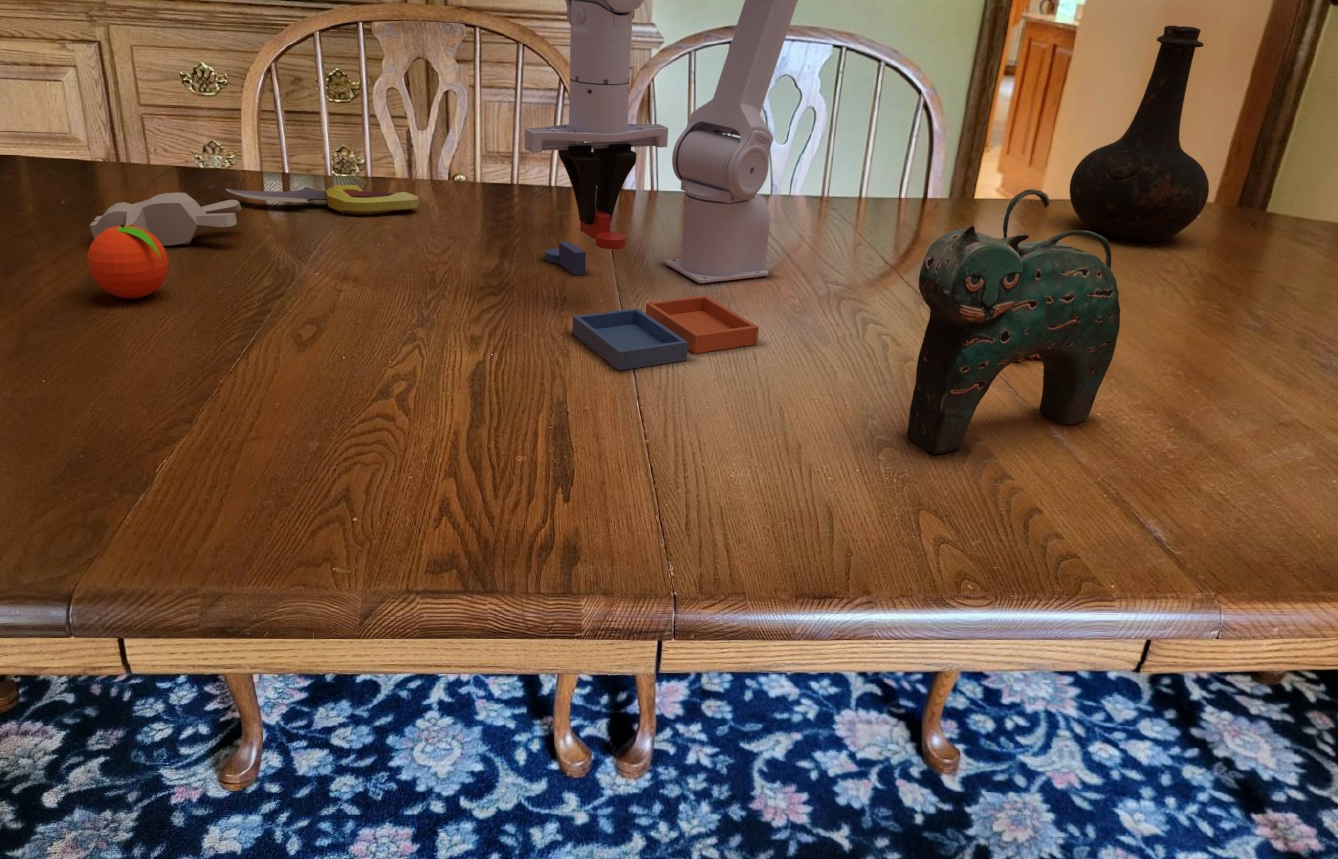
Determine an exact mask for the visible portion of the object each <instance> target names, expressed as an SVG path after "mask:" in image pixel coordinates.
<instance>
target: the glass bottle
mask: <svg viewBox="0 0 1338 859" xmlns="http://www.w3.org/2000/svg"><path fill="white" fill-rule="evenodd" d="M1201 31H1202V30H1201V29H1200V28H1198V27H1194V26H1185V25H1184V26H1183V25H1182V26H1179V25H1165V26H1164V28H1163V34H1162V35H1160V36H1158V37H1157V38H1156V41H1157V42H1158V43H1160V46H1159V48H1158V52H1157V55H1156V59H1155V62H1154V66H1153V69H1152V72H1151V74H1150V77H1149V81H1148V83H1147V86H1146V88H1145V91H1144V94H1143V97H1142V99H1141V101H1140V103H1139V106H1138V108H1137V111H1136V113H1135V114H1134V117H1133V119H1132V121H1131V122H1130V124H1129V126H1128V128H1127V129H1126V130H1125V132H1124V133H1123V135H1122V136H1120V138H1119V139H1117V140H1116V141H1114V142H1111V143H1109V144H1106V145H1103V146H1100V147H1098V148H1096V149H1094V150H1093V151H1090V153H1089V152H1088V154H1087V155H1085V156H1084V157H1083V158H1082V159H1081V160H1080V162H1079V163H1078V164H1077V165H1076V167H1075V169H1074V171H1073V173H1072V175H1071V177H1070V181H1069V199H1070V203H1071V206H1072V208H1073V210H1074V213H1075V214H1076V215H1077V217H1078V219H1079V220H1080V221H1081V222H1082V223H1084V225H1085V226H1087V227H1088V228H1089V229H1091V230H1094V232H1098V233H1100V234H1103V235H1106V236H1109V237H1113V238H1117V239H1122V240H1128V241H1135V242H1145V243H1150V242H1151V243H1152V242H1154V243H1155V242H1160V241H1164V240H1167V239H1169V238H1171V237H1174V236H1176V235H1177V234H1179V233H1181V232H1182V231H1184V230H1185V229H1186V228H1187V227H1188V226H1190V225H1191V224H1192V223H1193V222H1194V221H1195V220H1196V219H1197V218H1198V217H1199V215H1200V214H1201V213H1202V211H1203V210H1204V208H1205V206H1206V205H1207V201H1208V198H1209V193H1210V183H1209V179H1208V175H1207V172H1206V171H1205V170H1204V168H1203V166H1202V165H1201V164H1200V163H1199V161H1197V160H1196V159H1195V158H1194V157H1192V156H1191V155H1189V154H1188V153H1187V152H1185V151H1184V150H1183V148H1182V146H1181V142H1180V132H1181V131H1180V130H1181V120H1182V113H1183V108H1184V104H1185V96H1186V92H1187V87H1188V83H1189V77H1190V73H1191V68H1192V64H1193V60H1194V56H1195V52H1196V48H1202V47H1204V43H1203V42H1202V41H1199V37H1200V34H1201Z"/></svg>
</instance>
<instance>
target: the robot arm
mask: <svg viewBox="0 0 1338 859" xmlns="http://www.w3.org/2000/svg"><path fill="white" fill-rule="evenodd" d="M644 1H645V0H564V2H565V5H566V20H568V24H569V25H570V35H569V36H570V40H569V42H570V43H569V90H568V92H569V93H568V94H569V95H568V123H566V124H558V125H550V126H542V127H541V126H540V127H526V128H524V149H525V150H527V151H528V152H530V153H532V154H535V153H536V154H537V153H543V152H545V151H547V152H548V151H558V152H557V153H558V156H559V159H560V160H561V162H562V164H563V167H564V169H565V171H566V173H567V176H568V179H569V181H570V184H571V187H572V191H573V193H574V198H575V202H576V206H577V211H578V219H579V221H582V222H584V223H585V224H587V225H591V224H594V218H595V207H596V208H598V209H600V210H602V211H603V212H605V213H607V214H609V215H610V224H611V223H612V220H613V215H614V212H615V208H616V205H617V202H618V198H619V195H620V193H621V191H622V188H623V186H624V184H625V182H626V180H627V178H628V176H629V175H630V173H631V171H632V169H633V168H634V166H635V165H636V163H637V152H635V151H633V150H632V148H643V147H656V148H668V141H669V140H668V139H669V127H667V126H665V125H663V124H659V123H658V124H657V123H656V124H655V123H653V124H652V123H651V124H647V123H646V124H645V123H642V124H641V123H629V109H630V86H631V85H630V84H631V82H630V81H631V60H632V59H631V57H632V36H633V17H634V16H633V13H634V11H633V10H637V9H639V8H640V7H641V6H642V4H643V3H644ZM798 1H799V0H744V2H743V5H742V8H741V11H740V14H739V17H738V20H737V24H736V25H735V26H736V27H735V30H734V33H733V36H732V39H731V42H730V45H729V48H728V51H727V54H726V57H725V61H724V62H723V63H724V64H723V67H722V69H721V73H720V75H719V79H718V81H717V85H716V88H715V91H714V95H713V96H712V98H711V100H709V101H707V102H706V103H704V104H702V105H701V106H699V107H698V108H697V109H695V110H694V111H692V112H691V113H690V117H689V118H688V119H689V120H688V123H687V125H686V126H685V128H684V130H683V131H682V133H680V135H679V136H678V138H677V139H676V141H675V143H674V146H673V150H672V154H671V156H672V157H671V165H672V169H673V173H674V175H675V177H676V178H677V179H678V180H679V181H680V190H681V191H684V205H683V206H684V207H683V221H682V232H681V233H682V234H681V235H682V236H681V247H680V248H681V249H680V258H671V259H666V260H665V265H666V266H669V267H670V268H672V269H674V270H675V271H677V272H678V273H681V274H683V275H684V276H686V277H687V278H688V279H691V280H693V281H694V282H696V283H698V284H706V283H716V282H725V281H732V280H733V281H734V280H743V279H750V278H759V277H767V276H769V271H768V270H766V262H767V253H768V245H769V244H768V243H769V236H770V235H769V234H770V226H771V225H770V224H771V215H770V210H769V206H768V203H767V201H766V200H765V198H764V197H763V196H762V195H761V194H759V191H761V189H762V187H763V186H764V184H765V182H766V180H767V176H768V174H769V160H770V153H771V152H770V151H771V147H772V145H773V142H774V135H773V134H772V132H771V130H770V128H769V127H768V125H767V124H766V122H765V120H764V119H763V117H762V115H761V112H762V109H763V106H764V103H765V100H766V97H767V94H768V91H769V88H770V86H771V83H772V79H773V76H774V73H775V70H776V67H777V64H778V61H779V58H780V55H781V53H782V50H783V46H784V43H785V41H786V37H787V35H788V31H789V28H790V25H791V23H792V19H793V17H794V13H795V10H796V7H797V5H798Z"/></svg>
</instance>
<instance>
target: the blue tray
mask: <svg viewBox="0 0 1338 859" xmlns="http://www.w3.org/2000/svg"><path fill="white" fill-rule="evenodd" d="M572 335H573V336H575V337H576V338H577V339H578V340H580V341H581V342H582V343H583V344H585V345H586V346H587V347H588V348H590V349H591V350H592V351H593V352H595V354H597V355H598V356H600V357H601V358H602V359H603V360H604V361H606V362H607V363H608V364H609V365H611V366H612V367H613V368H614V369H615V370H617V371H618V372H620V371H625V370H626V371H627V370H632V369H638V368H647V367H652V366H653V367H654V366H658V365H667V364H671V363H678V362H685V361H686V362H687V361H688V342H687V341H685V340H684V339H683V338H681V337H680V336H678V335H677V334H675V333H674V332H672V331H671V330H669V329H668V328H666V327H665V326H663V325H662V324H660V323H659V322H657V321H656V320H655V319H653V318H652V317H650V316H649V315H647V314H646V312H644V311H643V310H641V309H640V308H637V307H636V308H629V309H621V310H612V311H605V312H595V313H589V314H580V315H573V316H572Z"/></svg>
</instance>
